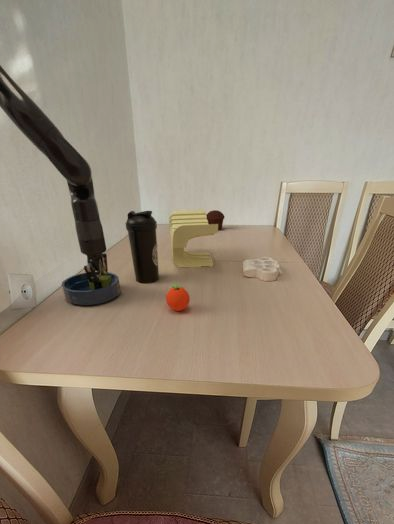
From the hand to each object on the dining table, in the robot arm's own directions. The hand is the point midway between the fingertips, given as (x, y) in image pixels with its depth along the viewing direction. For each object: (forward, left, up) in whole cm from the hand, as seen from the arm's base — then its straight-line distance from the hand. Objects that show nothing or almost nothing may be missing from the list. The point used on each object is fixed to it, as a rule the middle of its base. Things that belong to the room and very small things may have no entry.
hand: (101, 289), depth 97 cm
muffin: (+36, +97, -2) cm, 103 cm away
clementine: (+26, -9, -2) cm, 28 cm away
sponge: (0, 0, -1) cm, 1 cm away
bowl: (-3, 0, -2) cm, 3 cm away
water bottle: (+12, +15, -2) cm, 19 cm away
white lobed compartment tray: (+55, +23, -2) cm, 60 cm away
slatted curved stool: (+27, +35, -2) cm, 44 cm away
